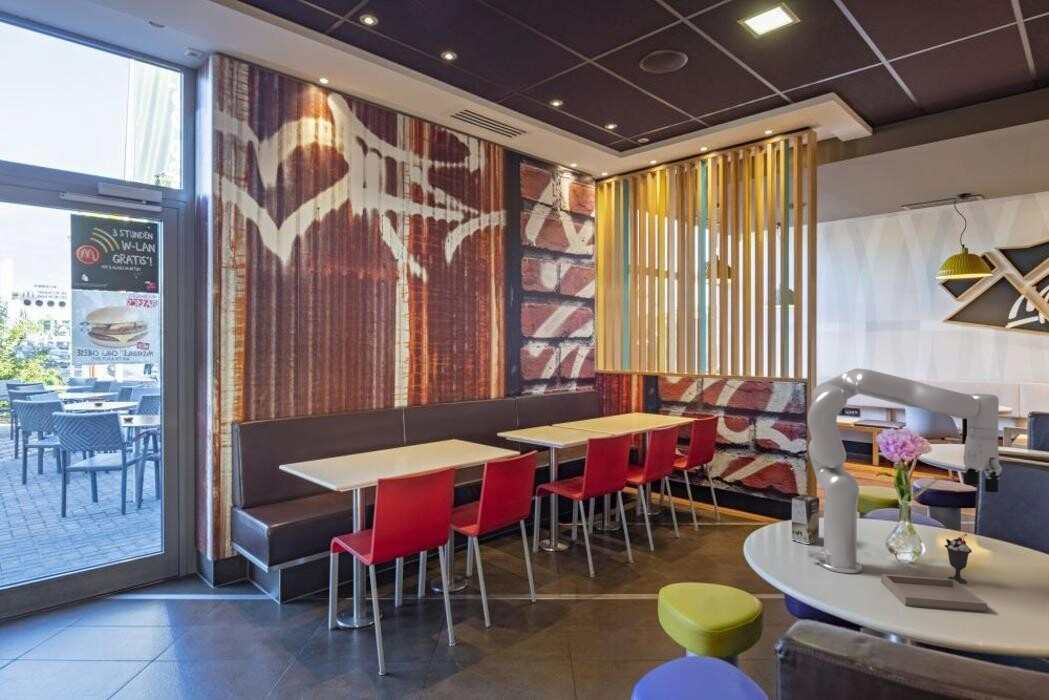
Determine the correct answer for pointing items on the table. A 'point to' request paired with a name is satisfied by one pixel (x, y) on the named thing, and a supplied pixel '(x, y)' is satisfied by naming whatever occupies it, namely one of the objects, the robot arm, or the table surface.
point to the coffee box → (805, 518)
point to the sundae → (958, 557)
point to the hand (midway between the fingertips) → (981, 487)
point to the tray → (933, 593)
